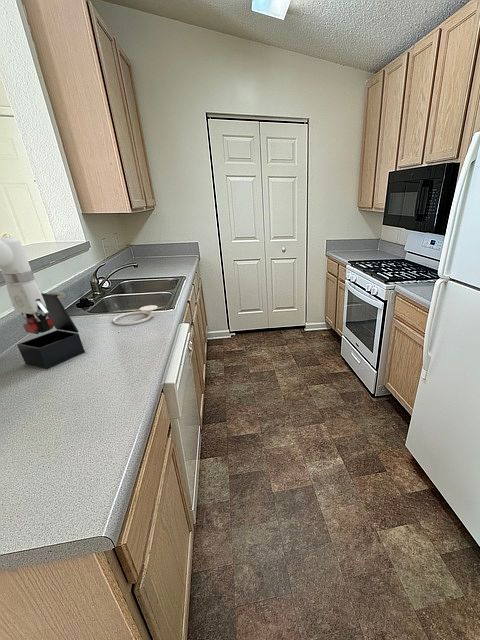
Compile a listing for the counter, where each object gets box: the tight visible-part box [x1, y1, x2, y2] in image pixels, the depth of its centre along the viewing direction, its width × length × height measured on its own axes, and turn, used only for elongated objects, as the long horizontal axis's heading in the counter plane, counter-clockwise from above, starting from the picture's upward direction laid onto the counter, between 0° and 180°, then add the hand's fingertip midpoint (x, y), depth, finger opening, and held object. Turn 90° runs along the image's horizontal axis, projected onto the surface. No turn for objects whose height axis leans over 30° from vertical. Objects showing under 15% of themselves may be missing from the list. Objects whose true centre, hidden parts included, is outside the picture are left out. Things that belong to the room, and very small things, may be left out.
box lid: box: [41, 290, 80, 334], centre depth 120 cm, size 15×11×5 cm
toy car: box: [22, 316, 55, 335], centre depth 114 cm, size 7×4×5 cm, turn 159°
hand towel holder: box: [112, 304, 158, 326], centre depth 158 cm, size 17×4×21 cm
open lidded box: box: [16, 329, 86, 370], centre depth 119 cm, size 14×11×8 cm
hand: (40, 330), depth 115 cm, fingers closed on toy car, 4 cm apart
